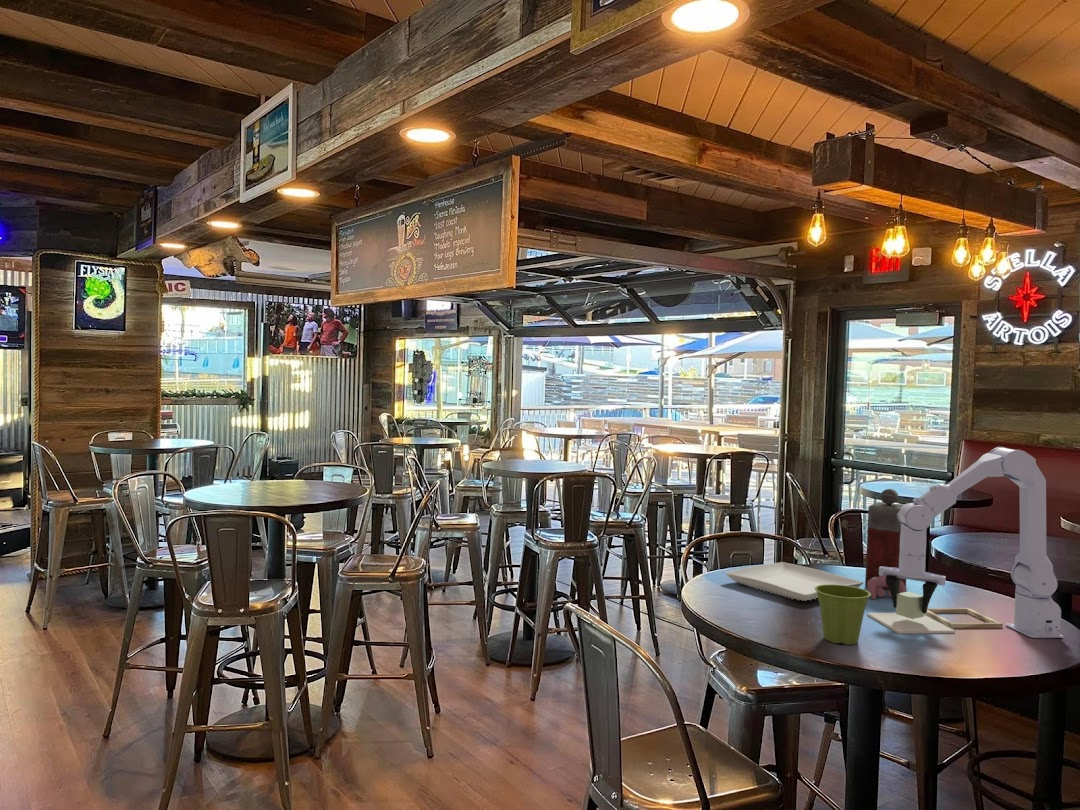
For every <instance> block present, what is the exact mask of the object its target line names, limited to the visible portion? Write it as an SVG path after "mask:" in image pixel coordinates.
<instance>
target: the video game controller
mask: <svg viewBox="0 0 1080 810" xmlns="http://www.w3.org/2000/svg"><path fill="white" fill-rule="evenodd" d="M885 579H886V576H878V577H873V578H871V579H870V580H868V582H867V586H868V587H867V591H868V592H870V593H871V596H870V597H869V598H871V599H872V600H873V601H875V600H876V598H883V597H884V596H886V590H883V589H882V588H881V587H888V586H887V584H886V581H885ZM903 592H908V590H907V588H906V587H905V585H904V583H903V582H902V581H901V580H900V585H899V593H903ZM887 597H889V598H890V599H892V596H891V593H890V590H887Z"/></svg>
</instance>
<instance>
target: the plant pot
mask: <svg viewBox="0 0 1080 810" xmlns="http://www.w3.org/2000/svg"><path fill="white" fill-rule="evenodd" d="M815 591H817V595H818V599H817V600H818V603H819V609H820V616H821V617H820V618H821V625H822V635H823V638H824V639H825V640H826V641H828V642H829V643H833V644H840V643H841V644H843V645H846V646H849V645H850V646H851V645H855V644H857V643H858V642H859V638H860V634H861V629H862V625H863V619H864V615H865V611H866V607H867V605H868V599H869V598H871V597H870V596H871V593H870V592H869V590H866V589H864V588H860V587H858V588H856V587H852V586H845V585H834V584H829V585H819V586H816V587H815Z"/></svg>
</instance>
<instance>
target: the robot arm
mask: <svg viewBox="0 0 1080 810" xmlns="http://www.w3.org/2000/svg"><path fill="white" fill-rule="evenodd" d="M1036 461H1037V459H1036V458H1035V457H1034V456H1032V455H1031V454H1030V453H1028V452H1026V451H1024V450H1022V449H1013V448H1012V449H1011V448H1008V447H1004V446H997V447H995V448H993V449H991V450H990V451H989V452H987V453H984V454H983V455H981V456H980V458H978V460H976V461H975V462H974V463H973V464H971V465H969V467H968V468H966V469H965V470H963V471H962V472H961V473H960V474H958V475H957V476H956V477H954V479H952V480H951V481H949V482H948V483H947V484H943V483H938V484H932V485H930V486H929V487H928V489H929V490H927V491H926V492H924V493H923V494H922V495H920V496H919V497H915V498H913V499H912V501H913V502H910V503H909V502H907V503H905V504H902V505H903V506H902V507H901V508H900V511H899V513H897V517H898V520H899V521H900V522H901V533H900V555H899V568H892V567H883V566H881V567H879V575H880V576H886V579H885V581H886V584H887V586H888V588H889V590H890V593H891V596H892V598H891V599H892V606H893V608H894V609H896V606H897V594H898V593H899V585H900V578H903V579H906V580H910V581H917V582H922V583H923V584H922V595H923V605H922V613H926V612H927V608H929V604H930V601H931V598H932V596H933V594H934V592H935V591H936V589H937V587H938V585H939V586H943V587H944V586H945V585H946V582H947V581H946V578H947V577H946V576H945V575H940V574H938V573H937V574H936V573H932V572H929V571H928V572H927V571H926V559H927V558H926V555H927V554H926V553H927V552H926V551H927V529H928V528H929V527H930V526H931V525H932V522H933V521H932V520H933V519H935V518H937V516H939V515H940V514H942V513H943V512H945V511H946V510H947V509H949V508H951V507H952V506H953V505H955V504H956V503H957V497H958V496H959V495H960V494H962V493H963V492H965V491H967V490H969V488H971V487H973V486H975V485H976V484H978V483H980V482H981V481H982V480H984V479H986V478H993V477H994V478H997V477H1007V478H1008V479H1009V480H1010V481H1012V482H1013V483H1014V484H1015V485H1016V486H1018V487H1019V551H1018V553H1017V555H1015V559H1014V560H1015V561H1014V565H1013V567H1012V569H1011V571H1010V577H1011V579H1012V581H1013V583H1014V585H1015V593H1014V595H1015V596H1014V610H1013V611H1014V613H1013V623H1005V624H1004V625H1005V627H1007V628H1009V629H1012V630H1014V631H1016V632H1019V633H1020V634H1023V635H1025V636H1027V637H1030V638H1032V639H1052V638H1055V639H1057V638H1058V639H1060V638H1061V639H1062V638H1064V635H1063V634H1061V625H1062V623H1061V622H1062V609H1061V607H1060V605H1059V604H1058V603H1057V602H1055V601H1054V600H1053V598H1052V595H1053V594H1054V593H1055V592H1056V590H1057V588H1058V579H1057V577H1056V575H1055V573H1054V566H1053V563H1052V561H1051V560H1050V559H1049V557H1048V554H1047V480H1046V476H1044V474H1043V473H1042V471H1041V470H1040V468H1039V466H1038V465H1037V462H1036Z"/></svg>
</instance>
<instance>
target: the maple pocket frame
mask: <svg viewBox="0 0 1080 810" xmlns="http://www.w3.org/2000/svg"><path fill="white" fill-rule="evenodd" d="M938 614H968V615H970V616H972V617H974V616H975V618H977V619H978V620H981V621H982V622H952V621H950V620H948V618H945V617H943V616H942V615H938ZM924 615H926V616H928V617H930V618H932V619H934V620H935V621H937V622H939V623H941V624H943V625H945V626H947V627H949V628H951V629H995V628H996V629H1003V626H1004V625H1003V623H1002V622H1000V621H998V620H995V619H993V618H992V617H989V616H986V615H985V614H982V613H980V612H978V611H976V610H973V609H971V608H969V607H928V608H927V612H926V613H924ZM983 621H984V622H983ZM987 622H988V623H987Z"/></svg>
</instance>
